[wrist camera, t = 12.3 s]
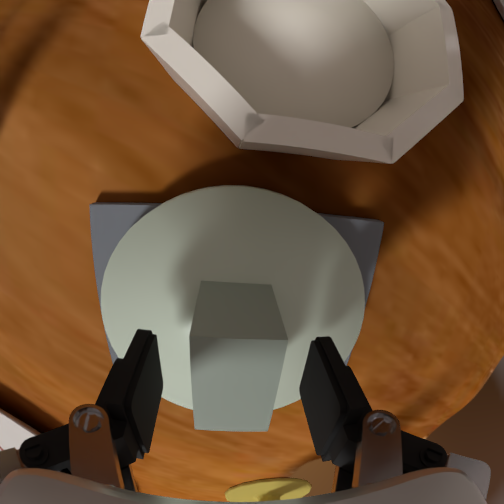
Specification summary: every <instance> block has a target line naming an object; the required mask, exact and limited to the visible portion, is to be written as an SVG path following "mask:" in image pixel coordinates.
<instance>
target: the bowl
mask: <svg viewBox="0 0 504 504" xmlns="http://www.w3.org/2000/svg"><path fill="white" fill-rule="evenodd" d="M141 39H142V40H143V42H144V43H145V44H146V45H147V47H148V48H149V49H150V50H151V52H152V53H153V54H154V55H155V57H156V58H157V59H158V61H159V62H160V63H161V64H162V66H163V67H164V68H165V70H166V71H167V72H168V73H169V75H170V76H171V77H172V79H173V80H174V81H175V82H176V83H177V84H178V85H179V86H180V87H181V88H182V89H183V90H184V91H185V92H186V93H187V94H188V95H189V96H190V97H191V98H192V99H193V100H194V101H195V102H196V104H197V105H198V106H199V107H200V108H201V109H202V110H203V111H204V112H205V113H206V114H207V115H208V116H209V117H210V118H211V119H212V120H213V122H214V123H215V124H216V125H217V126H218V127H219V128H220V129H221V130H222V131H223V132H224V134H225V135H226V136H227V137H228V138H229V139H230V140H231V141H232V142H233V144H234V145H235V146H236V147H237V148H238V147H239V149H250V150H262V151H272V152H282V153H290V154H299V155H306V156H314V157H321V158H327V159H334V160H349V161H364V162H376V163H387V164H392V163H395V162H396V161H397V160H398V159H399V158H400V157H401V156H403V155H404V154H405V153H406V152H407V151H408V150H409V149H411V148H412V147H413V146H414V145H415V144H416V143H417V142H418V141H420V140H421V139H422V138H423V137H424V136H425V135H426V134H427V133H429V132H430V131H431V130H432V129H433V128H434V127H435V126H436V125H437V124H439V123H440V122H441V121H442V120H443V119H444V118H445V117H446V116H447V115H449V114H450V113H451V112H452V111H453V110H454V109H455V108H456V107H457V106H458V105H459V104H461V103H462V102H463V100H464V92H463V76H462V65H461V56H460V49H459V42H458V36H457V30H456V25H455V20H454V15H453V11H452V9H451V7H450V6H449V4H448V3H447V2H446V1H445V0H150V1H149V4H148V8H147V12H146V16H145V20H144V24H143V28H142V33H141Z"/></svg>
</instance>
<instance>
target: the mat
mask: <svg viewBox="0 0 504 504" xmlns="http://www.w3.org/2000/svg"><path fill="white" fill-rule="evenodd" d="M161 204H163V203H121V202H95V203H92V204H90V223H91V238H92V249H93V259H94V268H95V275H96V283H97V289H98V296H99V302H100V307H101V287H102V282H103V277H104V272H105V270H106V267H107V264H108V262H109V259H110V257H111V255H112V253H113V251H114V250H115V248H116V246H117V244H118V243H119V241H120V240H121V239H122V238H123V236H124V235H125V234H126V233H127V231H128V230H129V229H130V228H131V227H132V226H133V225H134V224H135V223H137V222H138V221H139V220H140V219H141V218H142V217H143V216H144V215H146V214H147V213H149V212H150V211H152V210H153V209H155V208H156V207H158V206H159V205H161ZM317 214H319V215H320V216H321V217H323V218H324V219H325V220H326V221H327V222H328V223H329V224H330V225H332V226H333V227H334V228H335V229H336V230H337V232H338V233H339V234H340V235H341V236H342V238H343V239H344V240H345V241H346V243H347V244H348V246H349V248H350V249H351V251H352V253H353V255H354V256H355V258H356V261H357V263H358V266H359V269H360V271H361V275H362V280H363V284H364V293H365V306H366V302H367V298H368V294H369V291H370V287H371V283H372V279H373V275H374V270H375V266H376V262H377V257H378V252H379V248H380V243H381V238H382V232H383V227H384V222H382V221H380V220H376V219H367V218H359V217H350V216H340V215H331V214H321V213H317ZM364 309H365V308H364ZM101 313H102V311H101ZM104 328H105V327H104ZM105 333H106V331H105ZM106 337H107V341H108V346H109V350H110V354H111V358H112V362H113V364H114V362H115V360H116V359H117V358H118V356H117V354H116V353H115V351H114V349H113V347H112V346H111V343H110V341H109V338H108V336H107V334H106ZM351 351H352V350H351ZM350 354H351V352H350ZM350 354H349V356H348V357H347V359H346V360H345V361H344V363H345V365H346V366H347V363H348V360H349V357H350Z"/></svg>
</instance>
